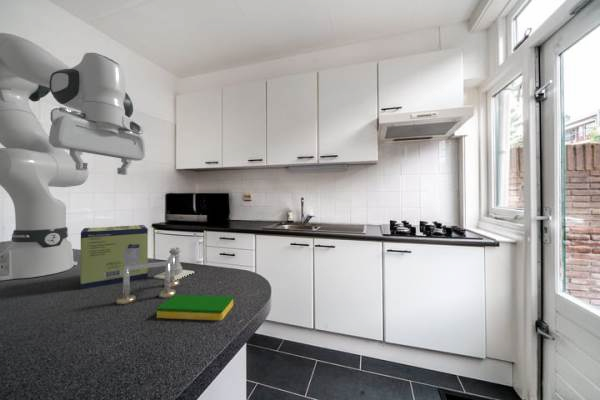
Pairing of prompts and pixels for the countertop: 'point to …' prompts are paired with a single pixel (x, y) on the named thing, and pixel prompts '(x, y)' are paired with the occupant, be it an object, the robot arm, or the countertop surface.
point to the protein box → (112, 254)
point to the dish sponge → (195, 307)
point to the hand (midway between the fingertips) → (103, 172)
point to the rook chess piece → (176, 260)
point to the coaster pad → (178, 276)
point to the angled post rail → (168, 265)
